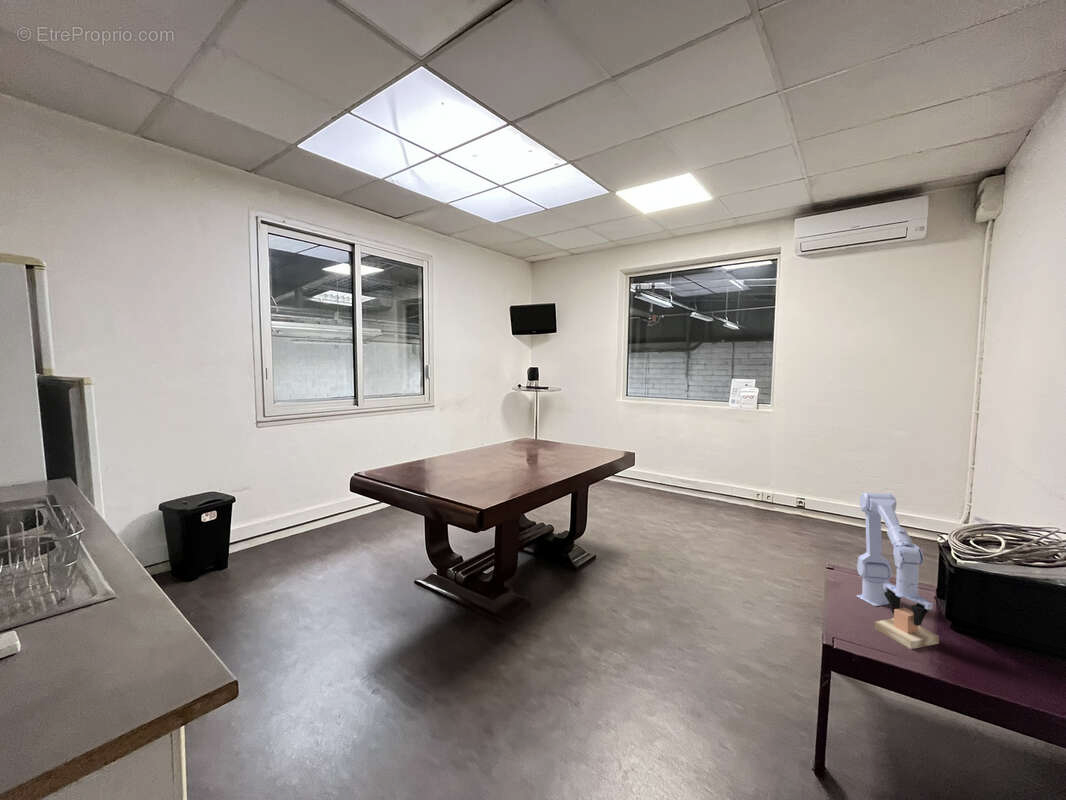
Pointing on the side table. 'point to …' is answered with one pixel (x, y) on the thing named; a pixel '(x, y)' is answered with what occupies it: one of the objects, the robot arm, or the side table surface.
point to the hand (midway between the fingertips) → (906, 618)
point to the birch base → (907, 635)
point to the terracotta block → (904, 620)
